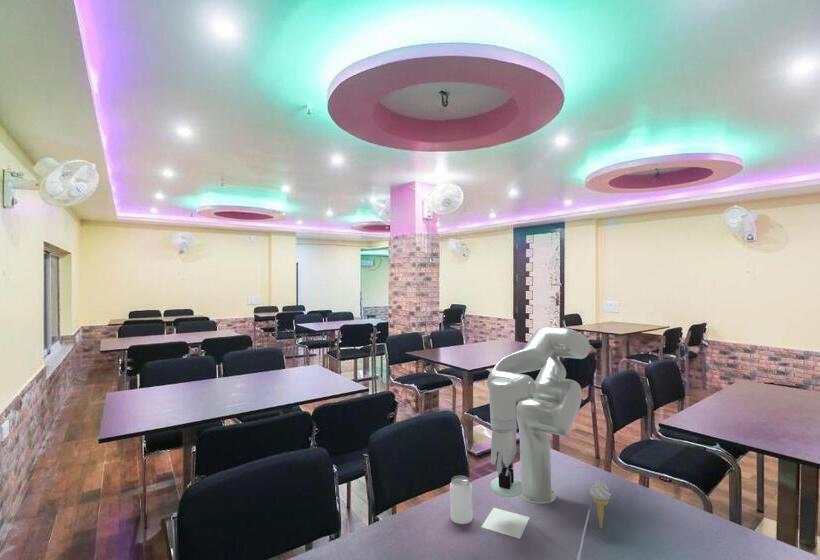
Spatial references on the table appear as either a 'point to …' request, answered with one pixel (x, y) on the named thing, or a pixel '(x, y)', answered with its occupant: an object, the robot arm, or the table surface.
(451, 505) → the can
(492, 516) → the mat
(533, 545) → the table surface
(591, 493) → the ice cream cone
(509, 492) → the lid
